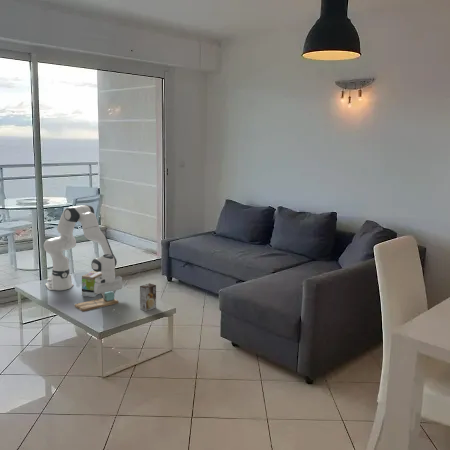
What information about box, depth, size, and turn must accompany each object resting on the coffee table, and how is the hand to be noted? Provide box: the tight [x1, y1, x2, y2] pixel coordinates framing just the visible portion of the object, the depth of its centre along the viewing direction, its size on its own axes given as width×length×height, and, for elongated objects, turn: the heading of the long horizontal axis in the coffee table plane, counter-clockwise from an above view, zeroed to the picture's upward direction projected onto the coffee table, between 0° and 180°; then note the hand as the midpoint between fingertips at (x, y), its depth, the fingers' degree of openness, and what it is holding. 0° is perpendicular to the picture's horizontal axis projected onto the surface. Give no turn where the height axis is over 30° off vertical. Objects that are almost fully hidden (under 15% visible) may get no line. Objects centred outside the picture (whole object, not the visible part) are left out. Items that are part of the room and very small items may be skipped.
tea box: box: [81, 270, 102, 298], centre depth 330 cm, size 15×10×15 cm
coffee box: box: [139, 283, 157, 312], centre depth 303 cm, size 9×6×16 cm
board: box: [74, 297, 120, 312], centre depth 308 cm, size 12×26×2 cm, turn 134°
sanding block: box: [104, 291, 115, 302], centre depth 314 cm, size 6×5×5 cm
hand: (108, 297), depth 314 cm, fingers closed on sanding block, 5 cm apart
